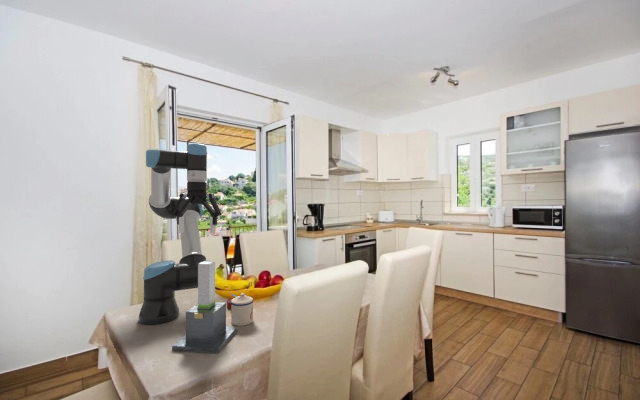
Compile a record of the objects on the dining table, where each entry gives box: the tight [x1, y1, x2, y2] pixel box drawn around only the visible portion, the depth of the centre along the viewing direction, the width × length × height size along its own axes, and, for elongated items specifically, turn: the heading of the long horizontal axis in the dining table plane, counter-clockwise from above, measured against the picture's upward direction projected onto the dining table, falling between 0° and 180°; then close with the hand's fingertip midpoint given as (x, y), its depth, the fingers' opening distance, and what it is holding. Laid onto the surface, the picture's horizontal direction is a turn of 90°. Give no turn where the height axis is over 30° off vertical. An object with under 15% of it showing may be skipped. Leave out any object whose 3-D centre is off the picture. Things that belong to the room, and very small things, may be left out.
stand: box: [171, 301, 238, 354], centre depth 104 cm, size 16×16×12 cm
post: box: [197, 260, 216, 310], centre depth 104 cm, size 4×4×20 cm
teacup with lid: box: [230, 292, 254, 327], centre depth 121 cm, size 12×9×12 cm
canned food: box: [226, 293, 238, 310], centre depth 138 cm, size 11×10×10 cm
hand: (197, 232), depth 120 cm, fingers open, 13 cm apart
